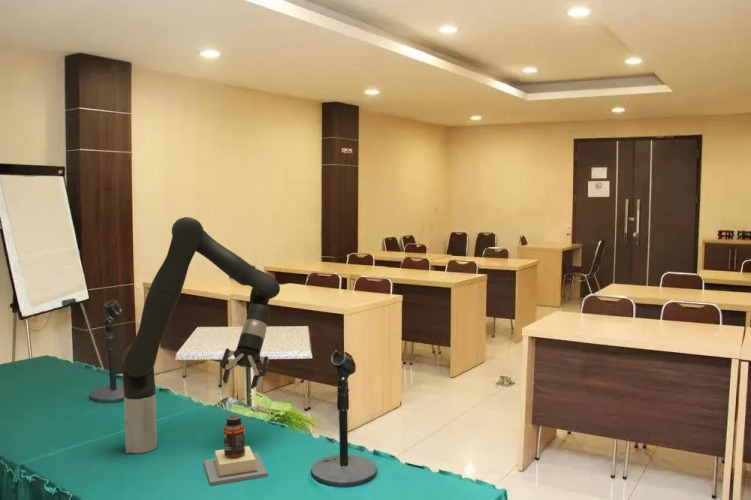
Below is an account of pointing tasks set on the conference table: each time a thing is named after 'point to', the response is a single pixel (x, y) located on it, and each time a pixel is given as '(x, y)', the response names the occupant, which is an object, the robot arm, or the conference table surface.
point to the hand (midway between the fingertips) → (238, 385)
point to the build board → (234, 478)
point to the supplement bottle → (234, 437)
